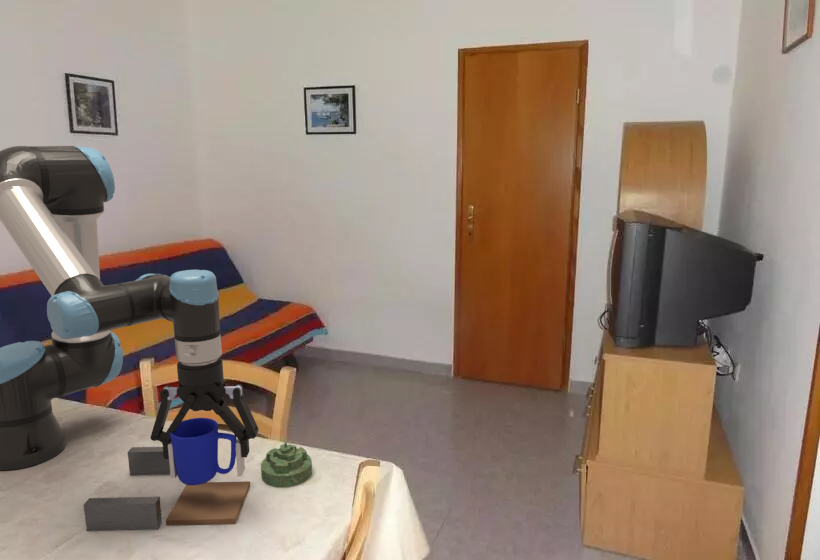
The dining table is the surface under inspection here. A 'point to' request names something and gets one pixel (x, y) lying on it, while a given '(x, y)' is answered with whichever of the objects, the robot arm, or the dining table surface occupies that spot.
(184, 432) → the mug
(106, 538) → the dining table surface
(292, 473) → the decorative artifact
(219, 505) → the walnut board
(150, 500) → the vise jaws
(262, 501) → the dining table surface
